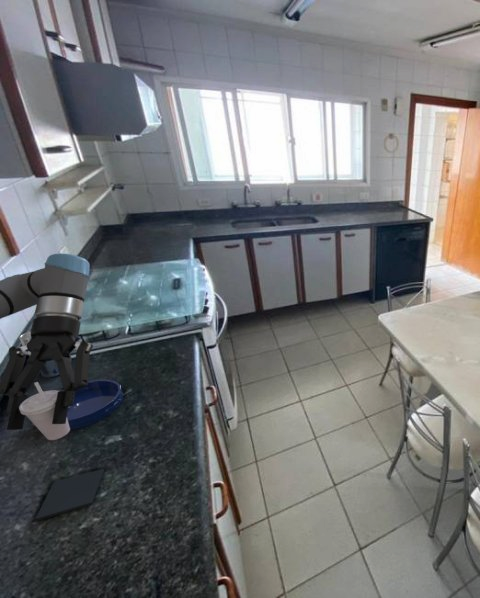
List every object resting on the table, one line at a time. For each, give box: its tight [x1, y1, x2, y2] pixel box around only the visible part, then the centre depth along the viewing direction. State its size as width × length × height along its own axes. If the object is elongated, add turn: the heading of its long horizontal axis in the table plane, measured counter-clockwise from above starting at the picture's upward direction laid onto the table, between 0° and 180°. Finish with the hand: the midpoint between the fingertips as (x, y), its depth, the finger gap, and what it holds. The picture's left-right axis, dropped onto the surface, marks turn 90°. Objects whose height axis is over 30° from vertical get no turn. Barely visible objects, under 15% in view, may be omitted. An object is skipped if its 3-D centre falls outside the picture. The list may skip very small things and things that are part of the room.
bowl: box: [62, 379, 124, 431], centre depth 95 cm, size 17×17×4 cm
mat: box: [35, 468, 105, 522], centre depth 73 cm, size 9×9×1 cm
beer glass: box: [18, 330, 60, 379], centre depth 105 cm, size 7×7×15 cm
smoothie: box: [19, 381, 71, 441], centre depth 70 cm, size 6×6×14 cm
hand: (37, 426), depth 67 cm, fingers closed on smoothie, 6 cm apart
